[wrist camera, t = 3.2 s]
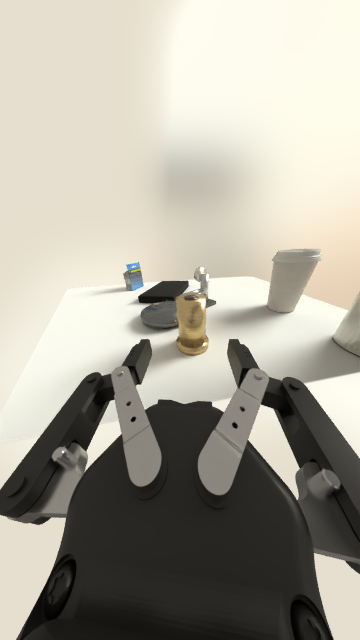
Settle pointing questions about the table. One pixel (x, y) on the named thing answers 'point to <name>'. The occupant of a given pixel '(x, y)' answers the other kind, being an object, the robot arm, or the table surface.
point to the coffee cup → (291, 277)
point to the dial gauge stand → (202, 285)
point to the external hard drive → (164, 292)
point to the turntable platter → (160, 315)
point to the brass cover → (192, 323)
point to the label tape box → (133, 277)
